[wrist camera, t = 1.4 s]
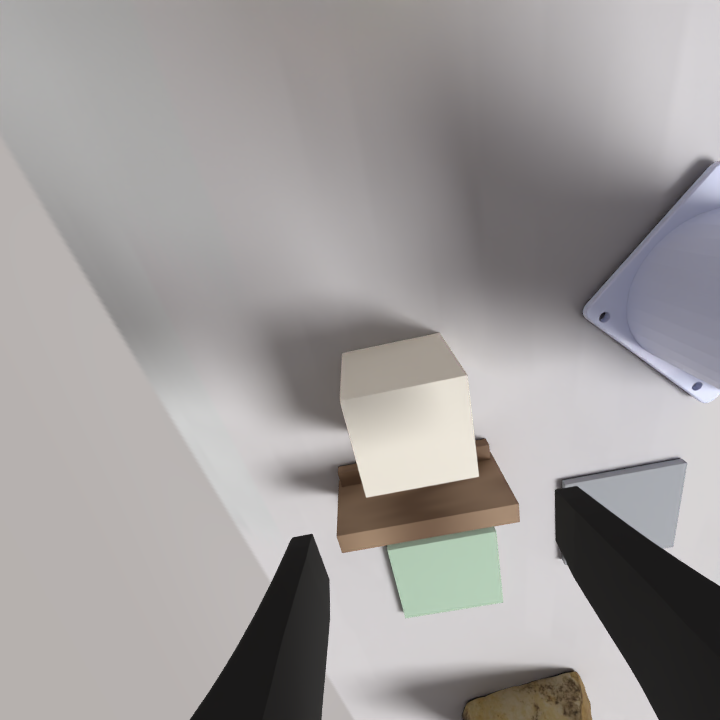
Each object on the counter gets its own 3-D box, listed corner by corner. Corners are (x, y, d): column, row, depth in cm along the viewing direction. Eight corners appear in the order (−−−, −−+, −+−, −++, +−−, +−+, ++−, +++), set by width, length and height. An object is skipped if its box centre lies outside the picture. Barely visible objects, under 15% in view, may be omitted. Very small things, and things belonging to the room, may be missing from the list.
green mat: (494, 526, 24) (496, 531, 24) (501, 596, 27) (503, 602, 27) (386, 545, 25) (387, 550, 24) (404, 612, 27) (405, 618, 27)
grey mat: (681, 458, 22) (687, 462, 22) (668, 541, 25) (673, 546, 25) (561, 480, 23) (565, 484, 22) (562, 559, 26) (565, 564, 25)
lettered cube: (439, 331, 19) (467, 375, 14) (451, 417, 21) (479, 479, 16) (342, 352, 19) (339, 401, 15) (363, 434, 21) (366, 499, 17)
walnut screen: (489, 438, 21) (517, 487, 18) (493, 481, 23) (520, 536, 19) (334, 467, 22) (331, 521, 18) (347, 507, 23) (346, 566, 20)
